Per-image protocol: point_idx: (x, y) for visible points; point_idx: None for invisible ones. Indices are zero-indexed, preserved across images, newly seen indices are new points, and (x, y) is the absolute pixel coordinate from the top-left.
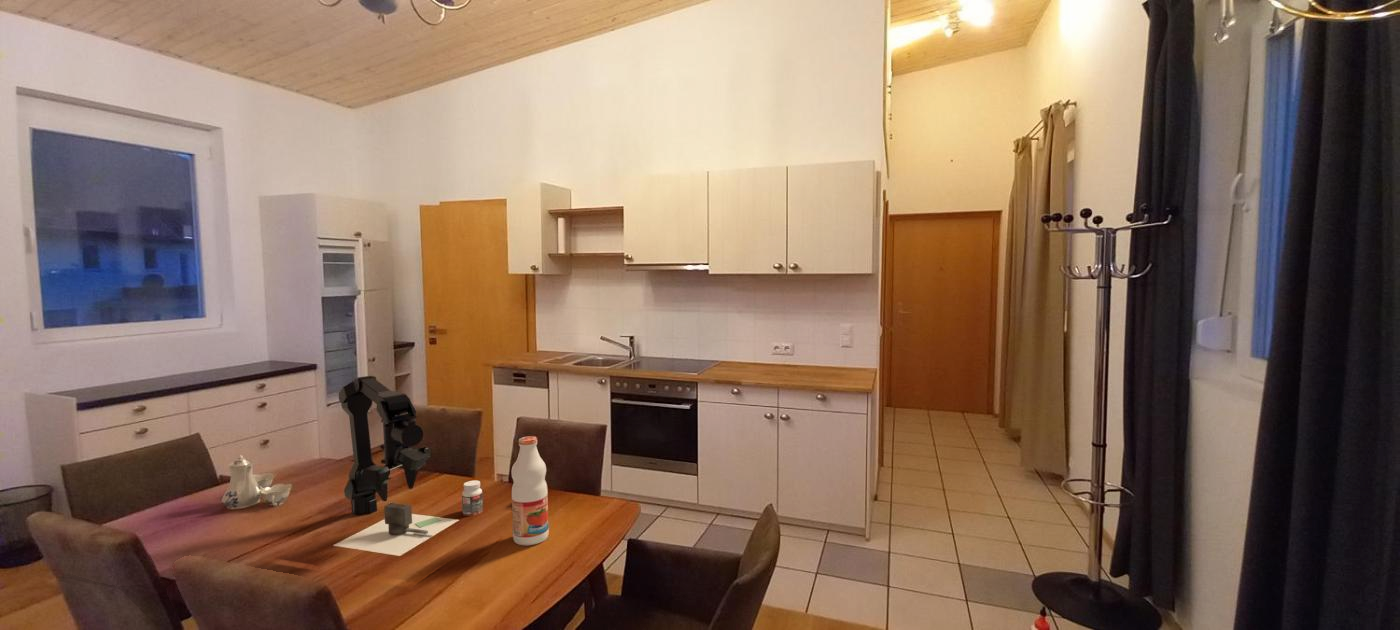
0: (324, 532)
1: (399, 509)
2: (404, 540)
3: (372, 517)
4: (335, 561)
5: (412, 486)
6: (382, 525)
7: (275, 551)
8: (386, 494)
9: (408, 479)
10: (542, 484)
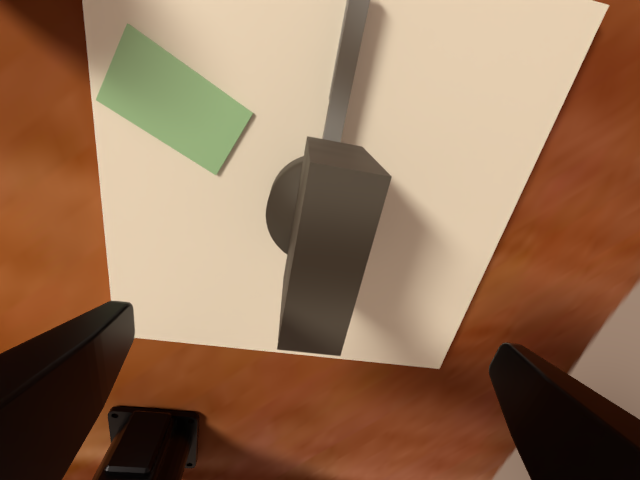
0: (312, 447)
1: (372, 227)
2: (415, 104)
3: (173, 397)
4: (533, 294)
5: (106, 314)
6: (259, 314)
7: (434, 471)
8: (586, 399)
9: (50, 455)
10: None
